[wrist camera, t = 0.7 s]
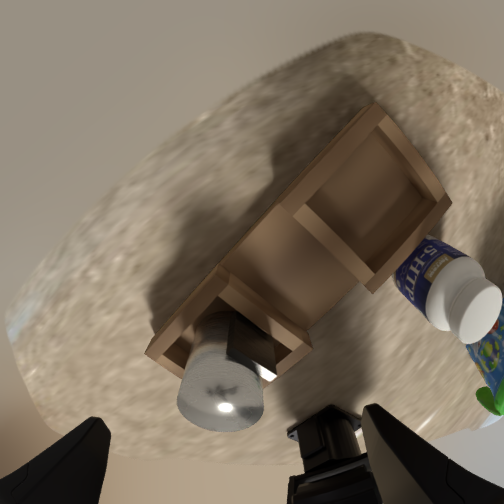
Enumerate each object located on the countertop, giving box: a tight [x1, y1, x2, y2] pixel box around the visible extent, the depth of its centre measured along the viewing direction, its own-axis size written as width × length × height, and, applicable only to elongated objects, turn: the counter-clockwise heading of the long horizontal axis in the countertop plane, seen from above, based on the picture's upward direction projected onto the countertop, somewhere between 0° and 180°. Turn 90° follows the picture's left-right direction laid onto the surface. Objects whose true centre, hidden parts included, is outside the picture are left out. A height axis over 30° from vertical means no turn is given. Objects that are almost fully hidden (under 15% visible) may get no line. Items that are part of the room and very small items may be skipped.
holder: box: [144, 102, 452, 389], centre depth 19 cm, size 8×24×4 cm, turn 138°
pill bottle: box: [392, 235, 502, 344], centre depth 16 cm, size 5×5×9 cm
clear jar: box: [177, 310, 277, 432], centre depth 17 cm, size 5×5×7 cm
